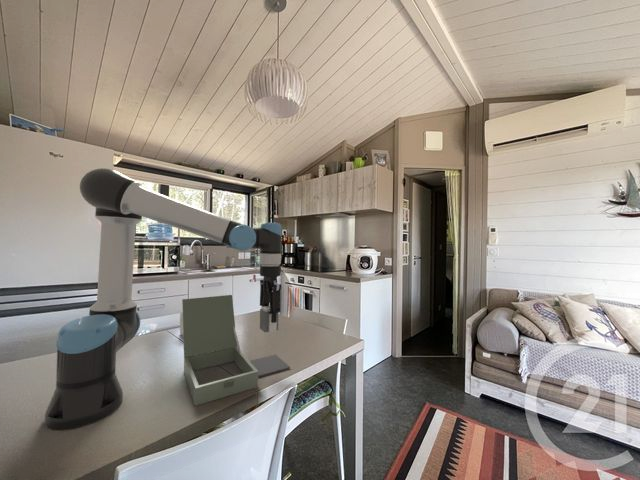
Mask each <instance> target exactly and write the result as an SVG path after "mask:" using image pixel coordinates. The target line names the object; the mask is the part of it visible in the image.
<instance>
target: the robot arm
mask: <svg viewBox="0 0 640 480" xmlns="http://www.w3.org/2000/svg"><path fill="white" fill-rule="evenodd" d="M79 192H80V194H81V197H82V198H83V199H84V200H85V201H86V203H87V204H89V205H91V206H93V207H94V208H95V212H94V213H95V214H94V217H95V219H97V220H98V221H99V222H100V223H101V225H100V241H99V242H100V243H99V261H98V275H97V276H98V277H97V291H96V293H97V294H96V301H95V303H94V304H92V305H91V306H90V307H89V313H88V315H87V316H83V317H81V318H76V319H73V320H71V321H69V322H67V323H66V324H64V325H63V326H62V327H61V328H60V329H59V331H58V334H57V335H58V336H57V340H56V343H55V344H56V377H55V378H56V380H55V381H56V383H55V384H56V385H55V386H56V387H55V389H54V392H53V395H52V397H51V399H50V401H49V404H48V406H47V407H46V408H47V409H46V410H45V414H44V416H45V417H44V425H46V426H47V427H48V428H47V427H46V426H45V427H46V428H47V429H49V428H50V430H53V429H54V430H53V431H62V430H63V431H65V430H66V431H67V430H72V429H77V428H81V427H84V426H88V425H91V424H93V423H95V422H97V421H100V420H101V419H104V418H105V417H107V416H110V415H111V414H112V413H113V412H115V411H116V410H117V409H118V408H119V407H120V406H121V405H122V403H123V395H124V394H123V389H122V386H121V384H120V381H119V379H118V376H117V374H116V373H117V372H116V365H117V359H116V358H117V352H119V351H120V350H121V349H122V348H123V347H124V346H125V345H127V344H128V343H129V342H130V341H131V340H132V339H134V338H135V336H136V334H137V333H138V331H139V329H140V326H141V317H140V314H139V312H137V304H138V303H137V302H136V301H134V300H133V298H132V294H133V293H132V292H133V277H134V264H135V263H134V262H135V261H134V260H135V258H134V257H135V243H136V241H135V239H136V227H137V225H138V224H139V223H141V222H142V219H143V218H146V219H149V220H152V221H155V222H158V223H161V224H164V225H167V226H170V227H173V228H176V229H179V230H182V231H184V232H188V233H190V234H194V235H196V236H199V237H202V238H205V239H208V240H211V241H213V242H216V243H217V242H218V243H220V244H223V245H224V246H225V247H226V248H228V249H234V250H237V251H242V252H245V251H248V250H250V249H260V251H259V252H260V253H259V254H260V255H259V264H260V266H259V276H261V277H263V279H260V280H259V286H260V291H259V306H260V307H264V306H270V312H268V313H269V332H268V333H272V332H276V331H278V330H277V313H278V312H279V313H281V295H282V294H281V292H282V291H281V290H282V284H279V283H278V277H281V276H282V266H281V263H282V262H281V261H282V258H283V256H282V238H283V235H282V234H283V233H282V224H281V223H279V222H262V223H261V224H260V227H251V226H249V225H247V224H241V223H240V222H236V221H234V220H231V219H228V218H226V217H223V216H220V215H218V214H214V213H212V212H209V211H207V210H204V209H202V208H200V207H199V208H198V207H196V206H194V205H191V204H188V203H185V202H183V201H180V200H177V199H176V198H175V199H174V198H172V197H170V196H167V195H164V194H161V193H159V192H157V191H153V190H151V189H147V188H144V187H143V186H142V184H141V183H140V182H139V181H137V180H136V179H133V178H131V177H129V176H126V175H125V174H122V173H120V172H119V171H116V170H115V169H111V168H102V167H101V168H96V169H93V170H90V171H88V172H86V173H85V174H84V175H83V177H82V178H81V179H80V184H79Z"/></svg>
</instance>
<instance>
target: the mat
mask: <svg viewBox="0 0 640 480" xmlns="http://www.w3.org/2000/svg"><path fill="white" fill-rule="evenodd" d="M249 361H250V362H251V363H252V365H253V366H254V367H255V368H256V369H257V370H258V379H259V378H262V377H266V376H269V375H272V374H276V373H279V372H283V371H286V370H290V369H291V367H290V365H288V364H287V363H286V362H285V361H284V360H283V359H282V358H280V357H279V356H278V355H277V354H272V355H267V356H264V357H260V358H255V359H250V360H249Z"/></svg>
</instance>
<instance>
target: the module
mask: <svg viewBox="0 0 640 480" xmlns="http://www.w3.org/2000/svg"><path fill="white" fill-rule="evenodd" d="M268 312H270V306H264V307H262V306H260V309H259V329H260V330H261V331H262V332H264V333H270V332H269V313H268ZM279 313H280V312H278V313H277V330H276V331H279Z"/></svg>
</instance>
